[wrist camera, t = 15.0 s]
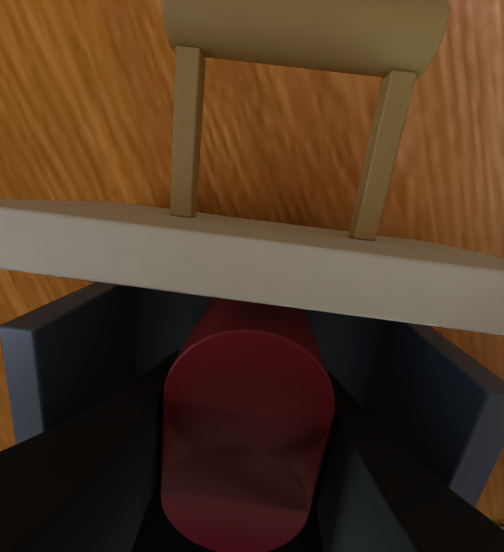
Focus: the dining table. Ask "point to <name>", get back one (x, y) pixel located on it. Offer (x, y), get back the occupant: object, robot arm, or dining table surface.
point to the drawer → (268, 261)
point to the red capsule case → (244, 427)
